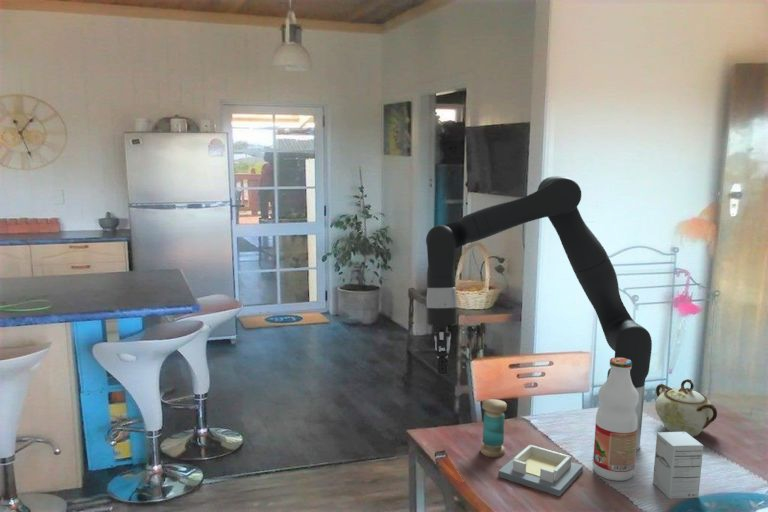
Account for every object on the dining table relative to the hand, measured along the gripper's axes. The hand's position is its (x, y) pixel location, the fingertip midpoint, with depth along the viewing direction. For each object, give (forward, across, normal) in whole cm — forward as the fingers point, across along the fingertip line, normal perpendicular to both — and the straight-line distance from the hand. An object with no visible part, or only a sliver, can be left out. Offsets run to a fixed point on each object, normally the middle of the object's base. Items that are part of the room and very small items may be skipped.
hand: (443, 371), depth 161 cm
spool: (+22, +7, -12) cm, 26 cm away
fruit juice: (+25, +1, -40) cm, 47 cm away
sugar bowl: (+21, +29, -65) cm, 74 cm away
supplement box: (+27, -6, -52) cm, 59 cm away
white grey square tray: (+24, -3, -23) cm, 33 cm away
